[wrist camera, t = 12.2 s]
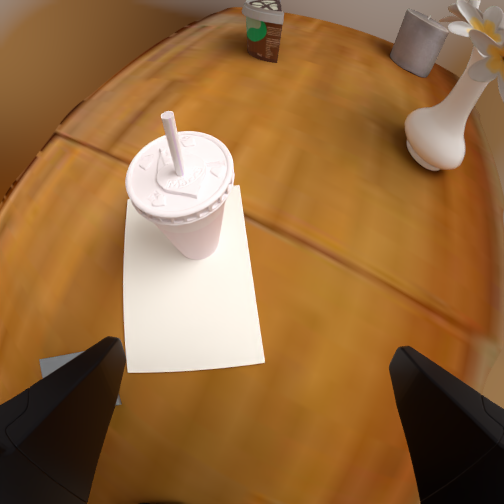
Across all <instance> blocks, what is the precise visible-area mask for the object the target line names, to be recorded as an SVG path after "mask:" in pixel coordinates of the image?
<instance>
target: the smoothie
mask: <svg viewBox="0 0 504 504" xmlns="http://www.w3.org/2000/svg"><path fill="white" fill-rule="evenodd" d="M161 118H162V122H163V126H164V130H165V134H166V135H165V136H162V137H159V138H157V139H156V140H154V141H152V142H150V143H149V144H148V145H146V146H145V147H144V148H142V149H141V150H140V151H139V152H138V154H137V155H136V156H135V157H134V159H133V160H132V162H131V164H130V166H129V168H128V171H127V174H126V190H127V193H128V196H129V197H130V199H131V203H132V205H133V206H134V208H135V209H136V211H137V212H138V213H139V214H140V215H142V216H143V217H144V218H146V219H147V220H148V221H151V222H153V223H154V224H155V225H156V226H157V227H158V228H159V229H160V230H161V231H162V232H163V234H164V235H165V236H166V237H167V238H168V239H169V240H170V241H171V242H172V244H173V245H174V246H175V247H176V248H177V249H178V250H179V251H180V252H181V253H182V254H183V255H184V256H185V257H187V258H189V259H193V260H201V259H205V258H207V257H209V256H210V255H212V254H213V253H214V252H215V250H216V249H217V247H218V244H219V238H220V232H221V226H222V219H223V213H224V207H225V201H226V199H227V198H228V196H229V194H230V192H231V190H232V188H233V183H234V176H235V174H234V169H233V160H232V156H231V154H230V152H229V150H228V149H227V147H226V146H225V145H224V144H223V143H222V142H221V141H219V140H218V139H216V138H215V137H213V136H210V135H208V134H205V133H201V132H194V131H183V132H177V128H176V123H175V118H174V113H173V112H172V111H167V112H164V113H163V114H162V115H161Z"/></svg>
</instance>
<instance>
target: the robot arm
mask: <svg viewBox="0 0 504 504" xmlns="http://www.w3.org/2000/svg"><path fill="white" fill-rule="evenodd" d="M125 363H126V356H125V353H124V349H123V346H122V342H121V340H120V339H119V338H117V337H111V336H108V337H106V338H104V339H103V340H101V341H99V342H98V343H96V344H95V345H93V346H92V347H90V348H89V349H87V350H86V351H84V352H83V353H81V354H79V355H78V356H76V357H75V358H73V359H72V360H70V361H69V362H67V363H66V364H64V365H63V366H61V367H60V368H58V369H57V370H55V371H54V372H52V373H50V374H49V375H47V376H46V377H44V378H43V379H41V380H40V381H38V382H37V383H35V384H34V385H32V386H31V387H30V389H29V388H28V389H26V390H25V391H23V392H22V393H20V394H18V395H17V396H15V397H14V398H12V399H10V400H9V401H7V402H5V403H3V404H1V405H0V504H87V502H88V498H89V494H90V489H91V485H92V481H93V478H94V474H95V470H96V466H97V463H98V459H99V456H100V452H101V449H102V446H103V442H104V439H105V436H106V433H107V429H108V426H109V423H110V420H111V417H112V414H113V411H114V408H115V405H116V402H117V398H118V393H119V389H120V384H121V380H122V376H123V372H124V367H125ZM389 371H390V376H391V380H392V385H393V390H394V395H395V400H396V405H397V409H398V412H399V416H400V419H401V423H402V426H403V430H404V433H405V437H406V441H407V444H408V448H409V452H410V456H411V460H412V464H413V469H414V473H415V478H416V482H417V487H418V492H419V497H420V501H421V502H420V504H504V409H503V408H501V407H500V406H498V405H496V404H495V403H493V402H492V401H490V400H489V399H487V398H486V397H484V396H483V395H481V394H480V393H479V392H477V391H476V390H474V389H473V388H471V387H470V386H468V385H467V384H465V383H464V382H462V381H461V380H459V379H458V378H456V377H455V376H453V375H452V374H450V373H449V372H448V371H446V370H445V369H443V368H442V367H440V366H439V365H437V364H436V363H434V362H433V361H431V360H430V359H428V358H427V357H425V356H424V355H422V354H421V353H419V352H418V351H416V350H415V349H413V348H412V347H410V346H401V347H399V348H398V349H397V350H396V352H395V354H394V356H393V358H392V360H391V362H390V366H389ZM140 504H148V503H140Z"/></svg>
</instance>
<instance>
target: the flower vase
mask: <svg viewBox="0 0 504 504" xmlns="http://www.w3.org/2000/svg"><path fill="white" fill-rule="evenodd" d="M479 4H480V0H479V1H478V0H469V2H467V1H464V0H457V1H456V3H455V4H452V5H450V6H449V7H448V10H449V11H450V12H451V13H453V14H454V15H456V16H457V17H456V16H448V17H445V18H443V19H441V20H440V21H439V22H452V23H450V24H449V25H448V29H449V31H451V32H452V33H455V34H457V35H460V36H465V37H470V40H471V41H472V43H473V51H472V54H471V57H470V60H469V63H468V65H467V67H466V69H465V71H464V73H463V75H462V76H461V78H460V79H459V81H458V82H457V84H456V85H455V87H454V88H453V90H452V91H451V92H450V94H449V95H448V96H447V97H446V98H445V99H444V100H443V101H442V102H441V103H439V104H437V105H435V106H433V107H426V108H419V109H416V110H414V111H413V112H412V113H410V114H409V115H408V116H407V118H406V121H405V134H406V137H407V142H406V143H407V148H408V151H409V153H410V154H411V156H412V157H413V158H414V159H415V160H416V161H417V162H418V163H419V164H420V165H421V166H423V167H424V168H426V169H428V170H432V171H438V170H440V169H443V170H451V169H454V168H456V167H458V166H459V165H460V164H461V162H462V161H463V159H464V156H465V140H464V129H465V124H466V121H467V118H468V116H469V114H470V112H471V110H472V108H473V107H474V105H475V103H476V102H477V100H478V98H479V97H480V95H481V93H482V92H483V90H484V89H485V87H486V86H487V84H488V83H489V82H490V81H492V80H494V79H495V78H496V77H497V75H498V87H499V92H500V96H501V98H502V100H503V102H504V13H503V12H502V10H501V9H500V8H499V7H497V6H491V7H489V8H488V9H486V10H485V12H484V14H483V13H482V12H481V11H480V10H479V9H478V8H479ZM482 19H483V20H482ZM469 24H470V25H469Z"/></svg>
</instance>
